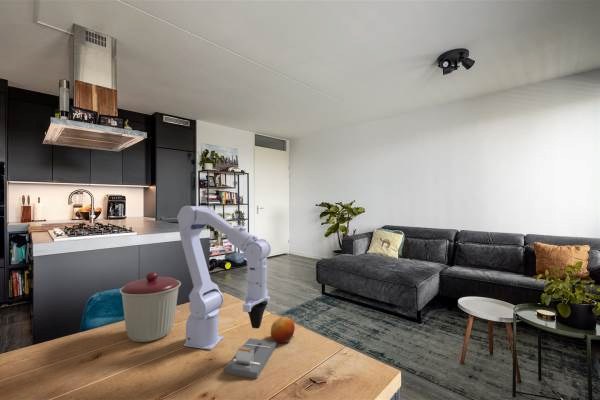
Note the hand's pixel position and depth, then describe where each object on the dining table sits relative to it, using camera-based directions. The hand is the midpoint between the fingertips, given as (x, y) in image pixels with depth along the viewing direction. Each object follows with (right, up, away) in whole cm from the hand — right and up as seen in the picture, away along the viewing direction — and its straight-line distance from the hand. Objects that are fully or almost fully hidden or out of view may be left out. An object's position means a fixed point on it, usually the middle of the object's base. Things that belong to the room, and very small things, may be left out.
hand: (256, 327), depth 80 cm
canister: (-37, -8, +11) cm, 40 cm away
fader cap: (-2, -6, -8) cm, 10 cm away
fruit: (+7, -8, +9) cm, 14 cm away
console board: (0, -8, -3) cm, 8 cm away
